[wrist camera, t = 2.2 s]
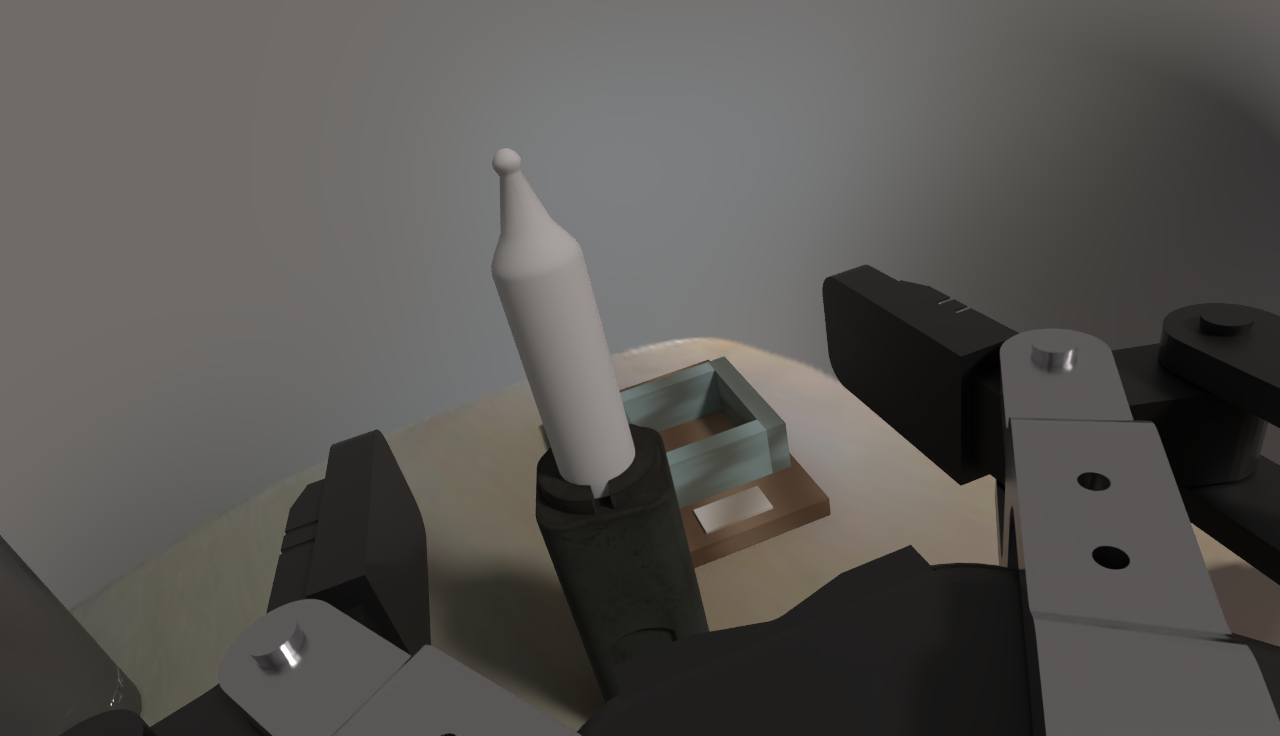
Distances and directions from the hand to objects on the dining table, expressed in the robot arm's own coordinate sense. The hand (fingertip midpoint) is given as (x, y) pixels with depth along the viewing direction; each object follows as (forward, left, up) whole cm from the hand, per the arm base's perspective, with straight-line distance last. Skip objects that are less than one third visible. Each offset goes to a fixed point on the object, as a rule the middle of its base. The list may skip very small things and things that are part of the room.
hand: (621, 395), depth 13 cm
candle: (0, +11, -23) cm, 25 cm away
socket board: (+5, +26, -23) cm, 35 cm away
